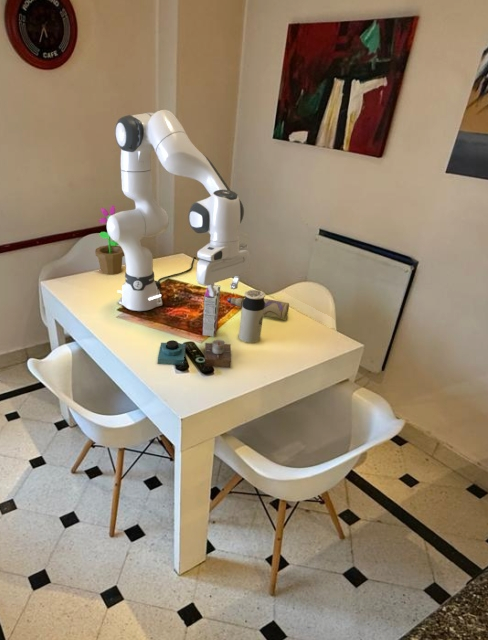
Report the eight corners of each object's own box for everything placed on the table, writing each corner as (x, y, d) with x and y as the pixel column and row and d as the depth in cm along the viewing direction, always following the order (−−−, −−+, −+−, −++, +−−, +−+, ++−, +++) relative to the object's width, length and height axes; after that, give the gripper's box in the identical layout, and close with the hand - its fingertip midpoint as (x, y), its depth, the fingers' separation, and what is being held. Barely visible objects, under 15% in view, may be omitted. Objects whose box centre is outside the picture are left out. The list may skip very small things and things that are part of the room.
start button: (167, 344, 163) (167, 339, 161) (178, 344, 162) (178, 340, 161) (166, 350, 159) (166, 345, 158) (177, 350, 159) (177, 346, 158)
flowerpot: (129, 266, 232) (126, 204, 214) (120, 277, 221) (117, 212, 203) (102, 264, 235) (97, 202, 217) (92, 274, 223) (86, 210, 206)
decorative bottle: (288, 315, 190) (291, 300, 186) (283, 323, 184) (286, 307, 180) (230, 302, 199) (231, 288, 195) (223, 309, 194) (225, 294, 190)
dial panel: (204, 350, 167) (205, 342, 165) (229, 351, 166) (230, 343, 164) (204, 366, 158) (204, 358, 156) (230, 367, 157) (231, 360, 155)
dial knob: (212, 348, 162) (212, 338, 160) (223, 348, 162) (224, 339, 159) (212, 353, 159) (212, 344, 156) (223, 354, 158) (224, 344, 156)
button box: (161, 347, 168) (161, 338, 165) (185, 349, 167) (186, 339, 165) (157, 363, 159) (157, 353, 156) (183, 365, 158) (184, 355, 156)
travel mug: (234, 338, 174) (239, 293, 163) (246, 331, 178) (252, 287, 168) (251, 345, 169) (258, 300, 159) (263, 338, 174) (270, 293, 164)
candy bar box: (205, 322, 184) (207, 283, 174) (217, 323, 183) (221, 285, 173) (201, 336, 175) (203, 295, 165) (214, 337, 174) (217, 297, 164)
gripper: (240, 240, 147) (239, 282, 155) (193, 253, 137) (193, 297, 144) (255, 243, 143) (253, 286, 150) (207, 257, 133) (207, 302, 140)
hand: (223, 292), depth 147 cm, fingers open, 8 cm apart
